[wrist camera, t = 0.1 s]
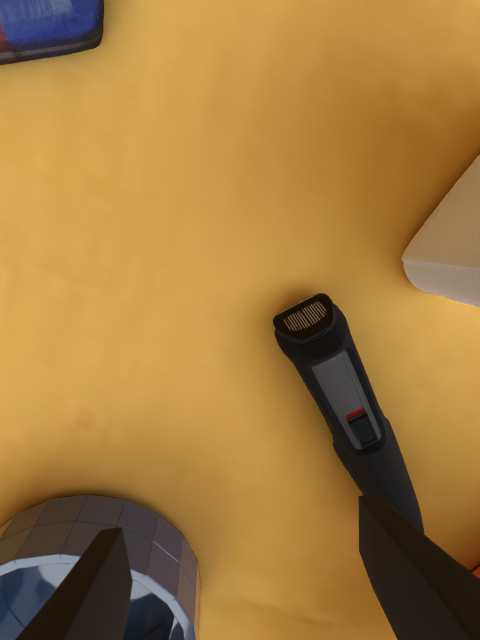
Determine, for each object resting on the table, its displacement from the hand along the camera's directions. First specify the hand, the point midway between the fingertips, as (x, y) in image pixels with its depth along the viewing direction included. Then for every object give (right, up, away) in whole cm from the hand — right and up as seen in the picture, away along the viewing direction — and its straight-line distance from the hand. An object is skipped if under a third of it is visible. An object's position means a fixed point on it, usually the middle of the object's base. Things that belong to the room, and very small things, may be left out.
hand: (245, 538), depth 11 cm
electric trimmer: (+6, +1, +11) cm, 13 cm away
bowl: (-10, -10, +12) cm, 18 cm away
